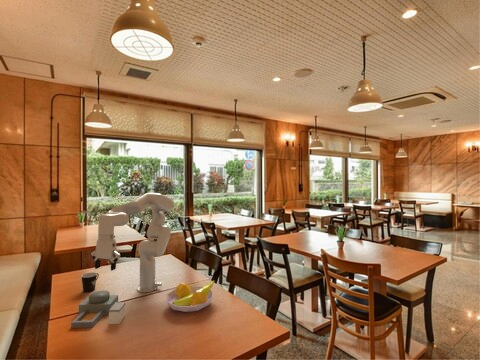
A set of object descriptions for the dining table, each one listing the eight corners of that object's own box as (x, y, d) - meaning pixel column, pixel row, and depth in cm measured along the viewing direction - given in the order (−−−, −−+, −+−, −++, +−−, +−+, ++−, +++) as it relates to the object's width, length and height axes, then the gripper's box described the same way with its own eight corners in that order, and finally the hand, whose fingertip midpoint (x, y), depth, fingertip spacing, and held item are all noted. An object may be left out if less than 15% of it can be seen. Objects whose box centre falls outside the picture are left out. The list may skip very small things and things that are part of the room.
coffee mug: (84, 294, 161) (84, 278, 161) (78, 290, 167) (78, 275, 167) (104, 288, 171) (104, 273, 171) (97, 285, 176) (97, 270, 176)
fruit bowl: (165, 321, 133) (166, 299, 133) (166, 297, 159) (166, 278, 159) (220, 314, 140) (220, 293, 140) (212, 292, 166) (212, 274, 166)
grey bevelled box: (125, 315, 138) (125, 302, 138) (119, 323, 130) (119, 309, 130) (115, 315, 138) (115, 302, 138) (109, 324, 130) (109, 310, 130)
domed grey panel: (118, 303, 150) (118, 289, 150) (99, 326, 127) (99, 310, 127) (89, 304, 149) (89, 290, 149) (64, 328, 126) (64, 311, 126)
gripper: (124, 236, 143) (124, 268, 143) (97, 234, 147) (96, 265, 147) (115, 239, 136) (114, 272, 136) (86, 237, 140) (86, 269, 140)
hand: (105, 269), depth 141 cm, fingers open, 9 cm apart
